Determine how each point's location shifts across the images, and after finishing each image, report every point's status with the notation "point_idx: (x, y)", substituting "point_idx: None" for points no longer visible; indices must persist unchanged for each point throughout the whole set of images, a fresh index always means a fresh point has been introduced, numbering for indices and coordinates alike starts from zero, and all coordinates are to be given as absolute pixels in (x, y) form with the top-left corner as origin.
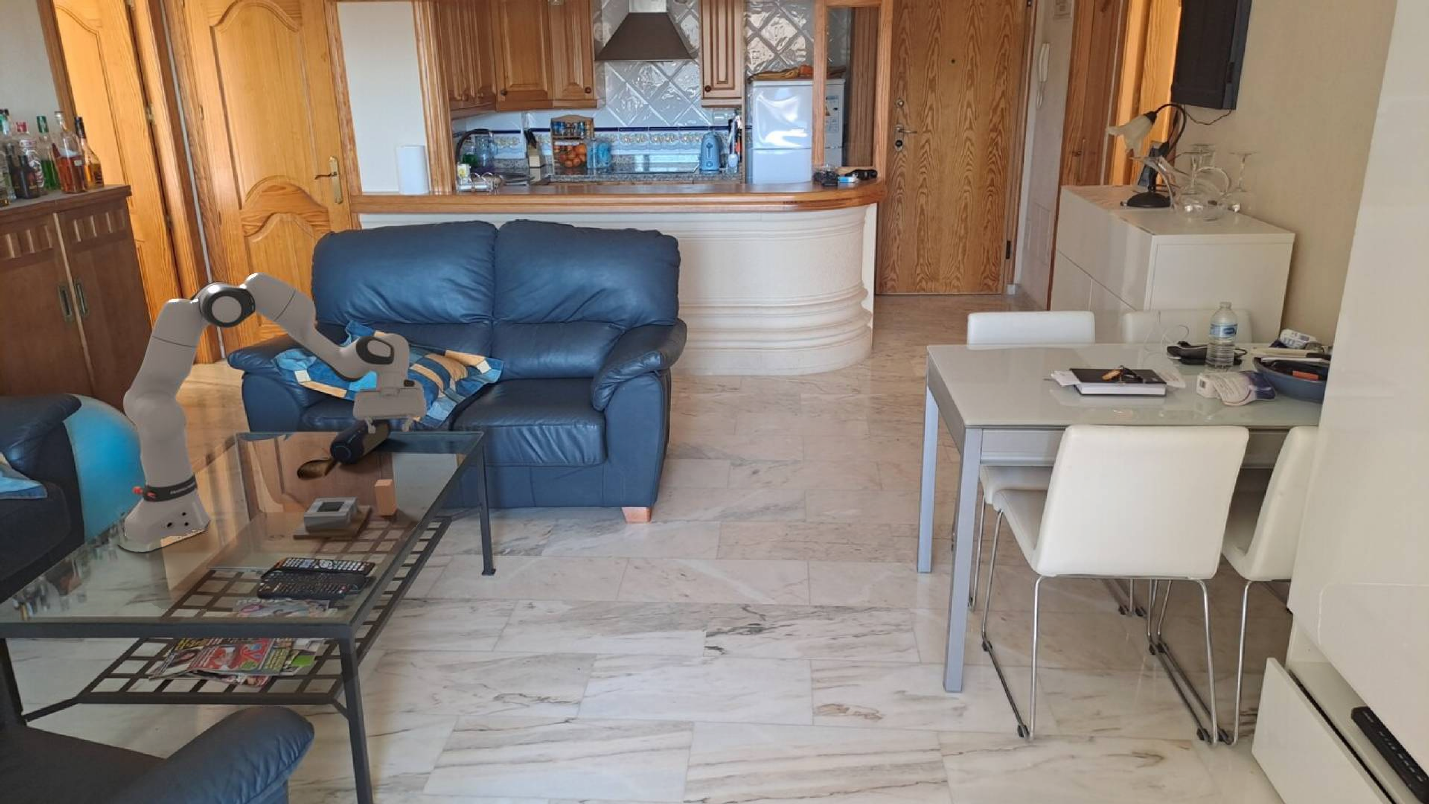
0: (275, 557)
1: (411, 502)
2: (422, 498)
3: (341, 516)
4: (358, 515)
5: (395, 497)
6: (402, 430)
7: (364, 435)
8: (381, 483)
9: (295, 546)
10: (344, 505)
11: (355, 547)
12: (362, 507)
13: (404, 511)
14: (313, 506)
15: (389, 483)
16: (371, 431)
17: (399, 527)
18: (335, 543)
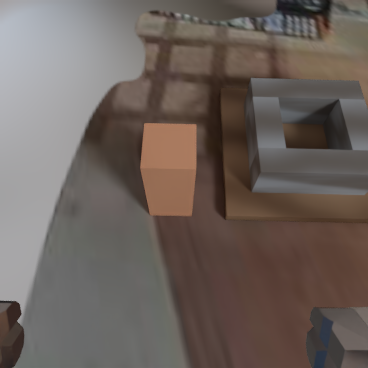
0: (344, 41)
1: (112, 249)
2: (80, 274)
3: (259, 80)
4: (241, 162)
5: (147, 200)
6: (18, 309)
7: None
8: (176, 140)
9: (329, 70)
10: (276, 125)
11: (202, 57)
12: (247, 205)
13: (125, 194)
14: (365, 128)
15: (146, 137)
16: (333, 308)
17: (126, 118)
18: (250, 73)
